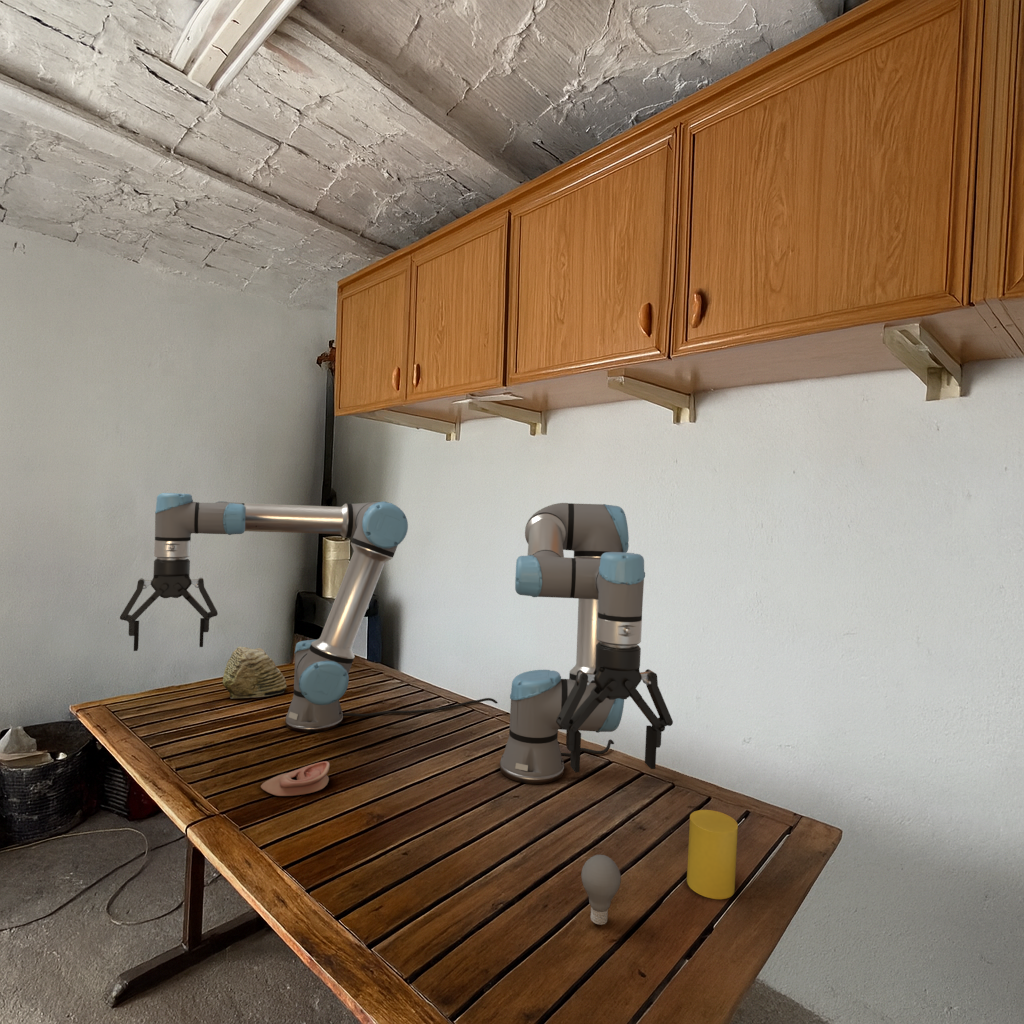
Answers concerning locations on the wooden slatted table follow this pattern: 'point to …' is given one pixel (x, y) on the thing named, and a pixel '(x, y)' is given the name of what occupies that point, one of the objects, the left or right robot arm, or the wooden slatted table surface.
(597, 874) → the light bulb
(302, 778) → the anatomical model
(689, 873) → the canister
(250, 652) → the fossil
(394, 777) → the wooden slatted table surface
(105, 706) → the wooden slatted table surface
